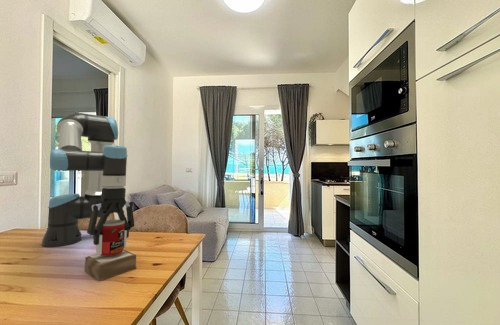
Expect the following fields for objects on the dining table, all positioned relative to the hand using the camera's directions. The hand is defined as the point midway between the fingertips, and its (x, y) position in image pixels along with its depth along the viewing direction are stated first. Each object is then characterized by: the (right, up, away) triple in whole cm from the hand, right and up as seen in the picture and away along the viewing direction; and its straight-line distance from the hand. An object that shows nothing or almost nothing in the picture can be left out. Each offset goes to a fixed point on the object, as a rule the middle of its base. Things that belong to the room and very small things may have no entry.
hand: (111, 250), depth 82 cm
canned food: (0, -1, 0) cm, 1 cm away
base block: (0, -7, 0) cm, 7 cm away
